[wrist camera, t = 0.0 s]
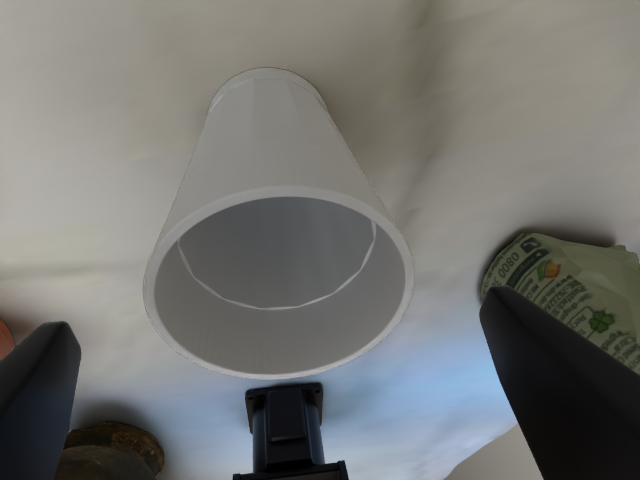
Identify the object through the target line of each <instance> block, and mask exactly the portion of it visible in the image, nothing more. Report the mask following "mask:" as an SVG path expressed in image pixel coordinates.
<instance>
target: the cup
mask: <svg viewBox="0 0 640 480" xmlns="http://www.w3.org/2000/svg"><path fill="white" fill-rule="evenodd" d="M414 285H415V266H414V260H413V256H412V253H411V250H410V248H409V245H408V243H407V241H406V240H405V238H404V236H403V235H402V233H401V232H400V230H399V228H398V227H397V225H396V224H395V222H394V220H393V219H392V217H391V216H390V214H389V212H388V211H387V209H386V208H385V206H384V204H383V203H382V201H381V200H380V198H379V196H378V195H377V193H376V192H375V190H374V188H373V187H372V185H371V184H370V182H369V181H368V179H367V178H366V177H365V175H364V173H363V171H362V170H361V168H360V166H359V165H358V163H357V161H356V159H355V158H354V156H353V154H352V153H351V151H350V149H349V148H348V146H347V144H346V142H345V141H344V139H343V137H342V136H341V134H340V132H339V130H338V129H337V127H336V125H335V124H334V122H333V120H332V119H331V117H330V115H329V112H328V109H327V107H326V104H325V102H324V100H323V98H322V97H321V95H320V94H319V92H318V91H317V90H316V89H315V88H314V87H313V86H312V85H311V84H310V83H309V82H308V81H306V80H305V79H303V78H302V77H300V76H298V75H297V74H294V73H292V72H289V71H286V70H283V69H278V68H257V69H252V70H248V71H245V72H242V73H240V74H238V75H236V76H234V77H233V78H231V79H230V80H228V81H227V82H226V83H225V84H224V85H223V86H222V87H221V88H220V89H219V90H218V91H217V93H216V94H215V96H214V97H213V99H212V101H211V103H210V106H209V109H208V112H207V117H206V121H205V124H204V127H203V129H202V132H201V134H200V137H199V139H198V142H197V144H196V147H195V149H194V152H193V154H192V157H191V160H190V162H189V165H188V167H187V170H186V172H185V175H184V177H183V180H182V182H181V185H180V188H179V190H178V193H177V195H176V198H175V200H174V203H173V205H172V207H171V210H170V212H169V214H168V217H167V219H166V221H165V224H164V226H163V229H162V231H161V233H160V236H159V238H158V240H157V243H156V245H155V247H154V250H153V252H152V255H151V257H150V259H149V262H148V264H147V267H146V271H145V275H144V281H143V298H144V304H145V308H146V311H147V314H148V317H149V319H150V321H151V323H152V325H153V326H154V328H155V330H156V331H157V332H158V334H159V335H160V336H161V338H162V339H163V340H164V341H165V342H166V343H167V344H168V345H169V346H170V347H171V348H173V349H174V350H175V351H176V352H178V353H179V354H180V355H182V356H183V357H185V358H187V359H188V360H190V361H192V362H194V363H196V364H198V365H200V366H202V367H205V368H207V369H210V370H212V371H215V372H219V373H222V374H226V375H230V376H235V377H241V378H248V379H261V380H277V379H290V378H298V377H304V376H309V375H313V374H317V373H321V372H324V371H327V370H330V369H333V368H336V367H339V366H341V365H343V364H346V363H348V362H350V361H352V360H354V359H356V358H358V357H359V356H361V355H363V354H364V353H366V352H367V351H369V350H370V349H372V348H373V347H375V346H376V345H377V344H378V343H380V342H381V341H382V340H383V339H384V338H385V337H386V336H387V335H388V334H389V333H390V332H391V331H392V330H393V329H394V328H395V327H396V325H397V324H398V323H399V321H400V320H401V318H402V317H403V315H404V313H405V312H406V310H407V308H408V306H409V303H410V301H411V298H412V295H413V290H414Z"/></svg>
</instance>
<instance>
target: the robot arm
mask: <svg viewBox="0 0 640 480" xmlns="http://www.w3.org/2000/svg"><path fill="white" fill-rule="evenodd" d="M479 316H480V322H481V325H482V328H483V331H484V334H485V337H486V340H487V344H488V347H489V350H490V353H491V356H492V359H493V362H494V365H495V368H496V371H497V374H498V377H499V380H500V382H501V385H502V387H503V390H504V392H505V394H506V396H507V399H508V401H509V403H510V405H511V408H512V410H513V412H514V414H515V417H516V419H517V421H518V423H519V425H520V428H521V430H522V432H523V434H524V437H525V439H526V441H527V443H528V446H529V448H530V450H531V452H532V454H533V457H534V459H535V461H536V463H537V466H538V468H539V470H540V472H541V475H542V477H543V479H544V480H640V375H639V374H638V373H636V372H635V371H633V370H632V369H631V368H629V367H628V366H626V365H625V364H623V363H622V362H620V361H619V360H617V359H616V358H614V357H613V356H611V355H610V354H609V353H607V352H606V351H604V350H603V349H601V348H600V347H598V346H597V345H595V344H594V343H592V342H591V341H589V340H588V339H587V338H585V337H584V336H582V335H581V334H579V333H578V332H576V331H575V330H573V329H572V328H570V327H569V326H567V325H566V324H565V323H563V322H562V321H560V320H559V319H557V318H556V317H554V316H553V315H551V314H550V313H548V312H547V311H545V310H544V309H543V308H541V307H540V306H538V305H537V304H535V303H534V302H532V301H531V300H529V299H528V298H526V297H525V296H523V295H522V294H521V293H519V292H518V291H516V290H515V289H513V288H512V287H510V286H507V285H501V286H492V287H490V288H489V289H488V290H487V292H486V295H485V298H484V301H483V303H482V306H481V309H480V314H479ZM80 360H81V348H80V345H79V343H78V341H77V339H76V337H75V335H74V333H73V331H72V330H71V328H70V326H69V324H68V323H66V322H64V321H59V322H48V323H44V324H42V325H40V326H39V327H38V328H37V329H36V330H35V331H33V332H32V333H31V334H30V335H29V336H28V337H27V338H26V339H24V340H23V341H22V342H21V343H20V344H19V345H18V346H17V347H16V348H14V349H13V350H12V351H11V352H10V353H9V354H8V355H7V356H5V357H4V358H3V359H2V360H1V361H0V480H54V477H55V473H56V470H57V466H58V463H59V460H60V456H61V453H62V449H63V446H64V443H65V439H66V435H67V432H68V428H69V423H70V418H71V412H72V406H73V401H74V395H75V389H76V383H77V377H78V372H79V366H80ZM322 398H323V389H322V385H321V384H310V385H301V386H291V387H281V388H272V389H262V390H252V391H248V392H246V393H245V401H246V408H247V414H248V420H249V427H250V433H251V434H253V473H249V474H241V475H240V473H239V474H233V480H349V478H348V474H347V469H346V465H345V461H344V460H343V461H338V462H337V463H329V464H325V460H324V452H323V445H322V438H321V430H320V426H321V422H322Z"/></svg>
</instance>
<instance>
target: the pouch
mask: <svg viewBox="0 0 640 480" xmlns="http://www.w3.org/2000/svg"><path fill="white" fill-rule="evenodd" d="M638 260H639V259H638V258H637V254H636V253H634V252H628V251H626V248H625V246H623V245H618V246H613V247H608V248H604V247H598V246H592V245H586V244H580V243H574V242H569V241H563V240H560V239H556V238H553V237H549V236H546V235H542V234H539V233H529V234H526V233H522V234H521V235H520V236H519V237H518V238H517V239H515V240H514V242H513V243H511V244H510V245H509V246H507V247H506V248H505V249H503V250H502V251H501V252H500V253H499V254H498V255H497V256H496V258H495V260H494V262H492V263H491V267H490V268H489V270H488V272H487V274H486V275H485V277H484V279H483V283H482V288H481V300H482V303H483V301H484V298H485V295H486V292H487V290H488V289H489V288H490V287H492V286H501V285H507V286H510V287H512V288H513V289H515V290H516V291H518V292H519V293H521V294H522V295H523V296H525V297H526V298H528V299H529V300H531V301H532V302H534V303H535V304H537V305H538V306H540V307H541V308H543V309H544V310H545V311H547V312H548V313H550V314H551V315H553V316H554V317H556V318H557V319H559V320H560V321H562V322H563V323H565V324H566V325H567V326H569V327H570V328H572V329H573V330H575V331H576V332H578V333H579V334H581V335H582V336H584V337H585V338H587V339H588V340H589V341H591V342H592V343H594V344H595V345H597V346H598V347H600V348H601V349H603V350H604V351H606V352H607V353H609V354H610V355H611V356H613V357H614V358H616V359H617V360H619V361H620V362H622V363H623V364H625V365H626V366H628V367H629V368H631V369H632V370H633V371H635V372H636V373H638V374H639V375H640V264H639V262H638Z"/></svg>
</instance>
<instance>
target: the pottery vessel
mask: <svg viewBox="0 0 640 480" xmlns="http://www.w3.org/2000/svg"><path fill="white" fill-rule="evenodd" d="M67 434H68V435H67V438H66V440H65V443H64V446H63V449H62V453H61V456H60V460H59V463H58V466H57V470H56V473H55V477H54V480H157V479H156V477H155V476H156V475H157V474H158V473H159V472H161V470H162V467H163V465H164V451H163V449H162V447H161V446H160V445H159V443H158V441H157V440H156V439H155V438H154V437H153V436H151V435H150V434H148V433H146V432H143V431H140V430H137V429H136V428H134V427H132V426H126V425H122V424H120V423H117V422H109V423H106V422H104V423H102V424H101V425H99V426H98V427H96V428H94V429H89V430H88V429H75V430H72V431H71V432H70V433H67Z"/></svg>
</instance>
